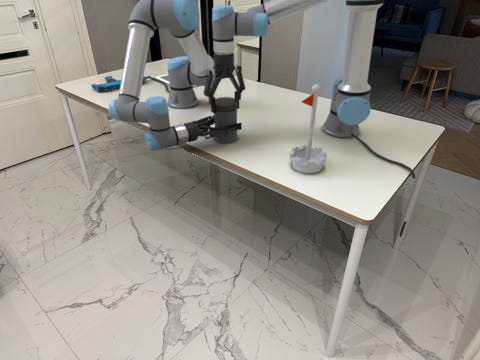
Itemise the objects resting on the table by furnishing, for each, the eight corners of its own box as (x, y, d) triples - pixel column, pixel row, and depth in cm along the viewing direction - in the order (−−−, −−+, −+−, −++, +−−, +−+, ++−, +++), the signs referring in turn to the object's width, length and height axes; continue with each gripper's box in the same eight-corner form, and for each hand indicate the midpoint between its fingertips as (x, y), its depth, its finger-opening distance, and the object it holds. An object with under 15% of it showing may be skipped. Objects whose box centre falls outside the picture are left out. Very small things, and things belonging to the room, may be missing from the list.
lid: (209, 110, 133) (208, 104, 132) (217, 101, 141) (217, 96, 140) (233, 112, 131) (233, 107, 130) (240, 103, 139) (240, 98, 138)
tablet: (154, 77, 217) (153, 77, 217) (181, 71, 228) (180, 71, 228) (181, 89, 196) (181, 89, 196) (209, 82, 208) (209, 82, 207)
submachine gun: (137, 69, 223) (155, 75, 206) (138, 75, 225) (156, 81, 208) (84, 79, 204) (99, 87, 188) (85, 85, 206) (101, 94, 190)
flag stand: (312, 154, 131) (323, 76, 115) (332, 170, 121) (346, 88, 105) (282, 160, 128) (289, 80, 111) (300, 177, 117) (309, 93, 101)
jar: (238, 133, 147) (238, 99, 139) (235, 143, 140) (235, 107, 131) (217, 132, 148) (215, 98, 140) (213, 142, 140) (211, 106, 132)
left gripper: (176, 131, 143) (223, 120, 152) (197, 153, 127) (248, 139, 136) (174, 114, 139) (222, 104, 148) (196, 135, 123) (249, 122, 132)
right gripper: (245, 47, 132) (245, 102, 144) (191, 54, 123) (196, 112, 135) (255, 51, 127) (254, 107, 139) (199, 58, 118) (203, 118, 130)
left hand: (235, 121), depth 142 cm, fingers closed on jar, 9 cm apart
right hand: (225, 109), depth 137 cm, fingers closed on lid, 10 cm apart
